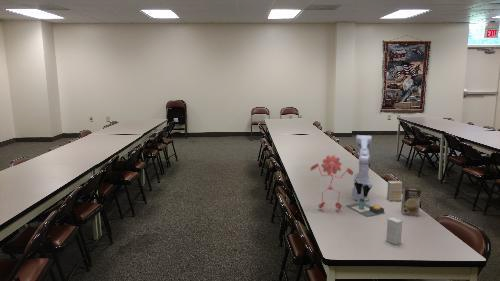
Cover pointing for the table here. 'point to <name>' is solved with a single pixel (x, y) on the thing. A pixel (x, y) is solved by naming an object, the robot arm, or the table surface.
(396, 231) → the skincare box
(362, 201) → the teal bottle
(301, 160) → the table surface
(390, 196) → the supplement box
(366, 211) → the slate board
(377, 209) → the button
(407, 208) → the coffee box
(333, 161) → the figurine
